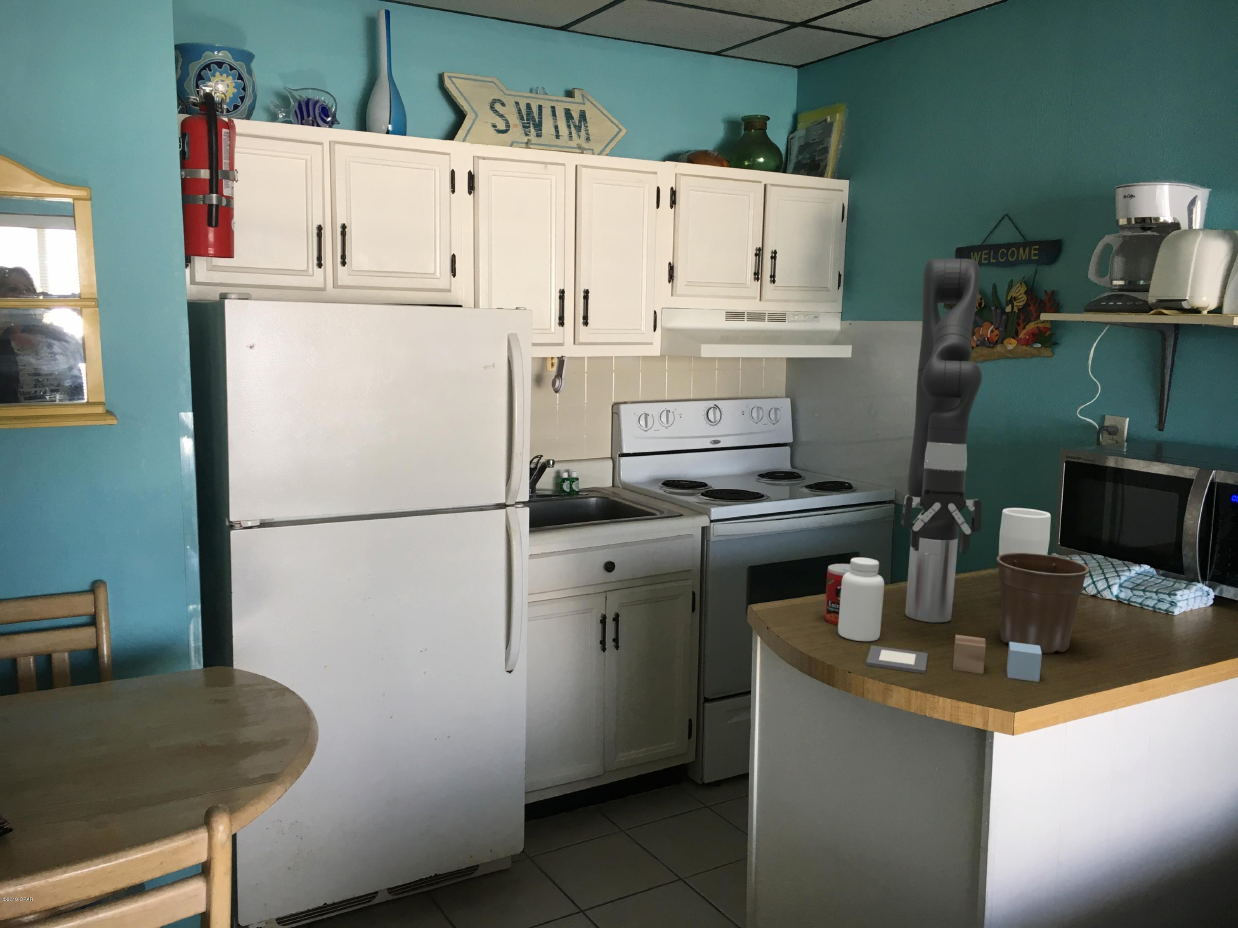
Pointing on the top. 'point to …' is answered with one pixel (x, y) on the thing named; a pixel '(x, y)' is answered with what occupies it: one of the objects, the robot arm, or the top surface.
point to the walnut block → (969, 654)
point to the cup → (1024, 531)
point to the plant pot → (1039, 599)
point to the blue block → (1024, 661)
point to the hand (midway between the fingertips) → (938, 551)
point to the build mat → (897, 659)
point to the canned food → (834, 591)
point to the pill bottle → (861, 601)
